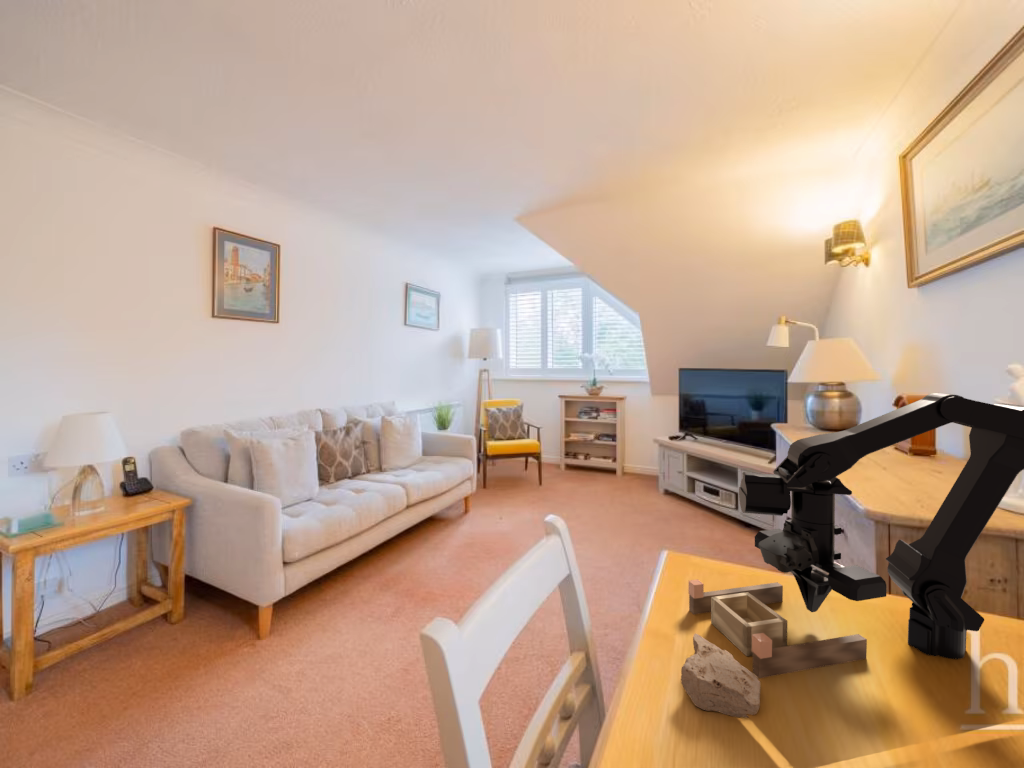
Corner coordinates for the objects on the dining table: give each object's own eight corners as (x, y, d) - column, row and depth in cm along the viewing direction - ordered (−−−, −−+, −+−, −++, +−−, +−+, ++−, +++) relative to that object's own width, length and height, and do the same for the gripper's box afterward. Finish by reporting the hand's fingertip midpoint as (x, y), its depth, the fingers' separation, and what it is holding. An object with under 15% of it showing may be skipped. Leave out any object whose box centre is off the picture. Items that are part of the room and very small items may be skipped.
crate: (747, 617, 70) (747, 592, 70) (787, 649, 62) (787, 620, 62) (711, 623, 69) (711, 597, 69) (746, 656, 61) (746, 627, 61)
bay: (776, 601, 76) (776, 569, 76) (867, 665, 60) (868, 624, 60) (688, 614, 73) (688, 580, 73) (760, 685, 57) (760, 642, 56)
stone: (677, 703, 54) (678, 667, 54) (696, 653, 63) (697, 622, 63) (755, 739, 49) (756, 700, 49) (764, 679, 58) (765, 645, 58)
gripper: (728, 503, 74) (728, 587, 75) (824, 548, 56) (823, 658, 57) (781, 498, 77) (780, 579, 77) (890, 539, 58) (888, 645, 59)
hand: (811, 610), depth 68 cm, fingers closed
